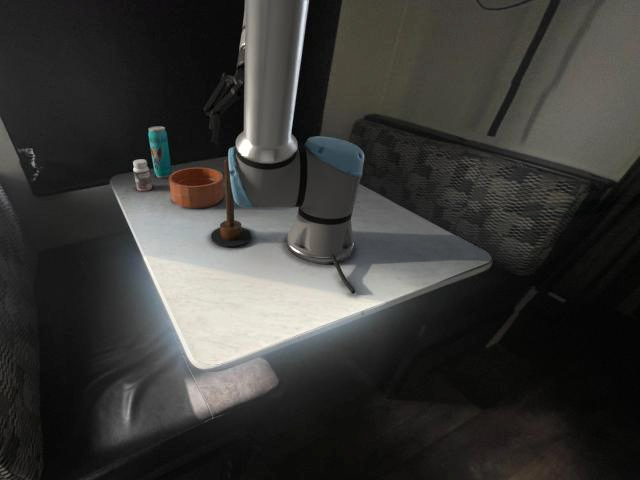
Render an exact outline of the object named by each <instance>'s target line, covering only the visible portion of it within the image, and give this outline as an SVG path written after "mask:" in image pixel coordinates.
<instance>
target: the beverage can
mask: <svg viewBox="0 0 640 480" xmlns="http://www.w3.org/2000/svg"><path fill="white" fill-rule="evenodd" d="M148 142H149V146H150V147H149V148H150V154H151V159H152V164H153V171H154V174H155V175H156V177H157V178H159V179H167V178H169V176H170V175H171V174H172V164H171V163H172V162H171V157H170V150H169V141H168V134H167V131H166V127H164V126H161V125H159V126H150V127H148Z"/></svg>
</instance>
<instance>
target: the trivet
mask: <svg viewBox="0 0 640 480" xmlns="http://www.w3.org/2000/svg"><path fill="white" fill-rule="evenodd" d="M210 239H211V242H212V243H213V244H214V245H216V246H218V247H220V248H227V249H234V248H235V249H236V248H240V247H244V246H246V245H248V244H249V243H250V242H251V241H252V233H251V232H250V230H249V229H247V228H245V227H243V226H242V235H241V237H240V238H239V239H236V240H225V239H223V238H222V237H221V234H220V227H218V228H216V229H214V230H213V231H212V232H211V233H210Z"/></svg>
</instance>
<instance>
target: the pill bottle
mask: <svg viewBox="0 0 640 480" xmlns="http://www.w3.org/2000/svg"><path fill="white" fill-rule="evenodd" d="M132 165H133V168H132V170H133V176H134V181H135V187H136V189H137V190H138V191H149V190H151V189H152V188H153V184H152V179H151V173H150V168H149V166H148V161H147V160H146V159H144V158H143V159H141V158H140V159H139V158H138V159H135V160H133V161H132Z"/></svg>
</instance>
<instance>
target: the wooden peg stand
mask: <svg viewBox="0 0 640 480" xmlns="http://www.w3.org/2000/svg"><path fill="white" fill-rule="evenodd" d="M223 165H224V166H223V168H224V186H225V187H224V190H225V191H224V193H225V209H226V210H225V211H226V220H223V221H222V222H221V223H220V224H219V228H220V234H221V237H222V238H223V239H225V240H236V239H239V238H240V237H241V235H242V227H243V226H242V223H241V222H240V221H238V220H235V201H234V198H233V193H232V188H231V181H230V170H229V161H228V157H227V158H226V157H225V158H224V159H223Z"/></svg>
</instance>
